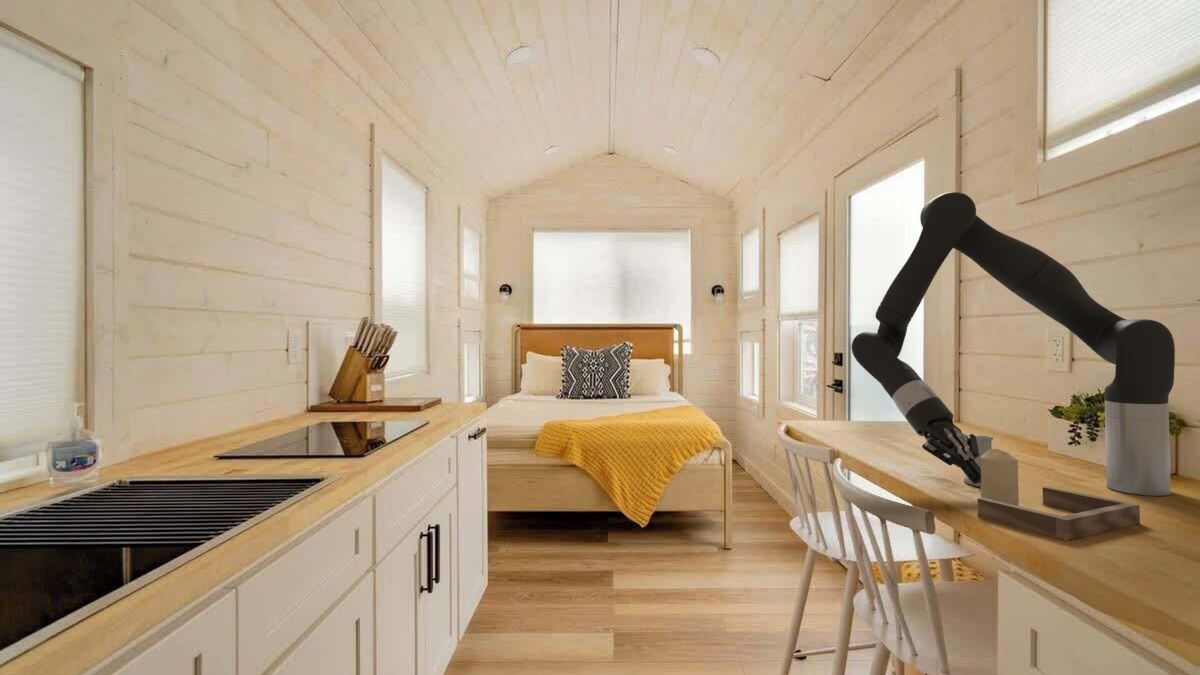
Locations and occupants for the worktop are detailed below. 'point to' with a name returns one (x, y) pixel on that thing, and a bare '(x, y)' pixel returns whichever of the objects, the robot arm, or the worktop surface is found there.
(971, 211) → the robot arm
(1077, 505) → the walnut bay
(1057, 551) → the worktop surface
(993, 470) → the beige milk carton
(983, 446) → the flask
